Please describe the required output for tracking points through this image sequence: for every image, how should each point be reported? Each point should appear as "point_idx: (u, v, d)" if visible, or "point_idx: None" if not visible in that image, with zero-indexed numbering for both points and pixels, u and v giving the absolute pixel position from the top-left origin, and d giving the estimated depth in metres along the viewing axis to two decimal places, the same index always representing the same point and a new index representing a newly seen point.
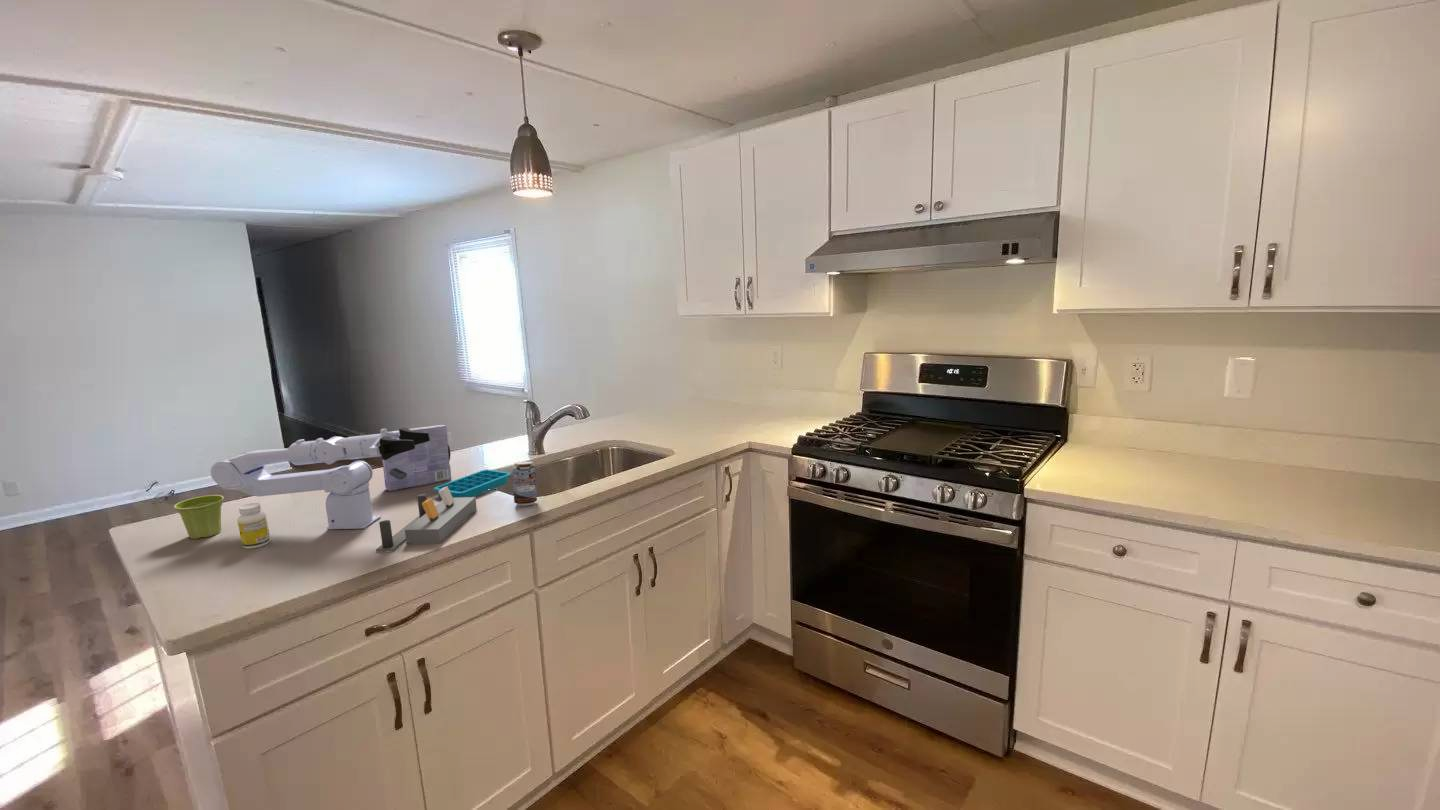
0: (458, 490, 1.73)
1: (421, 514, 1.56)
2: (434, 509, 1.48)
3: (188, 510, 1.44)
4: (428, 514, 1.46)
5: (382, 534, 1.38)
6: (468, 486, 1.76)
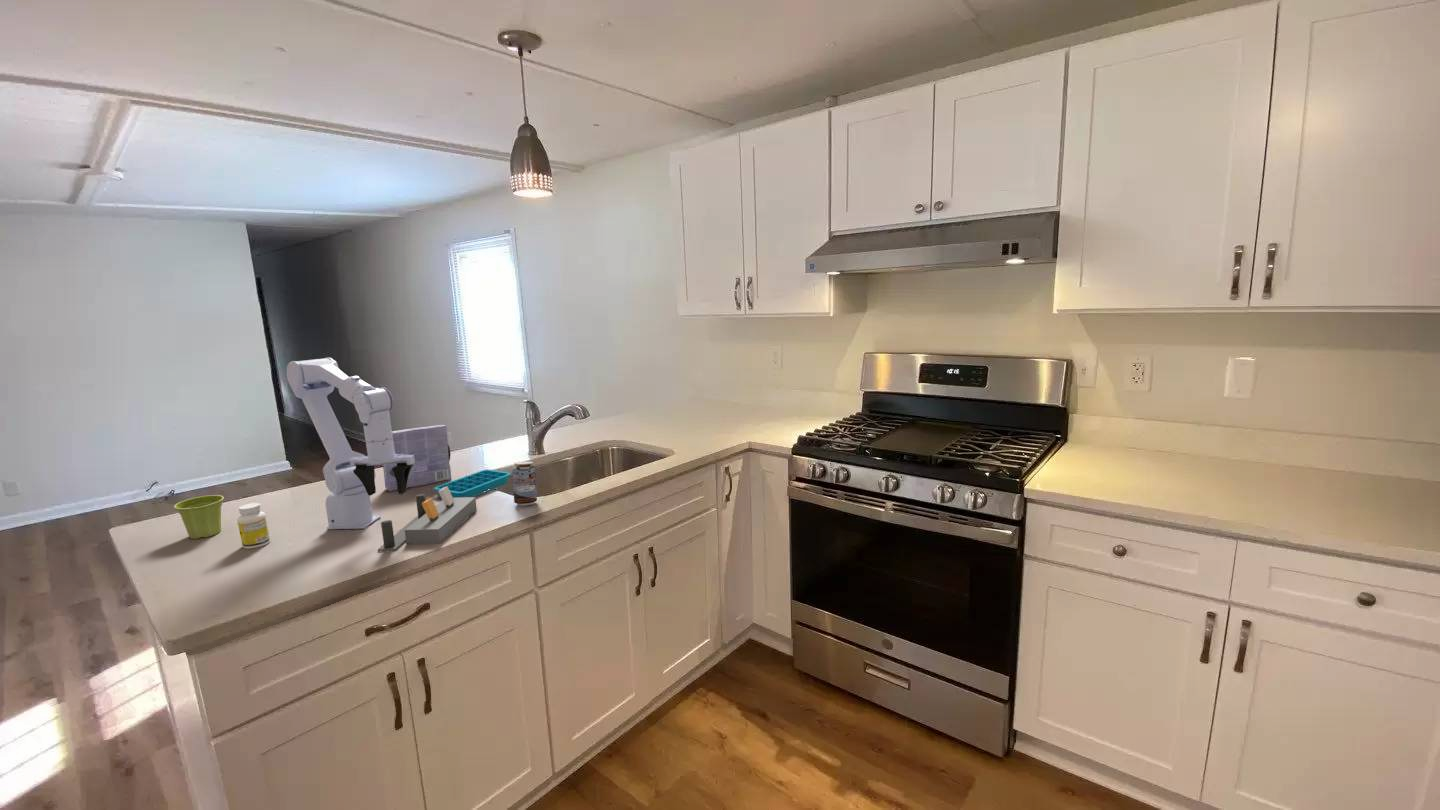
0: (458, 490, 1.73)
1: (420, 514, 1.56)
2: (434, 509, 1.48)
3: (188, 510, 1.44)
4: (428, 514, 1.46)
5: (384, 534, 1.38)
6: (468, 486, 1.76)
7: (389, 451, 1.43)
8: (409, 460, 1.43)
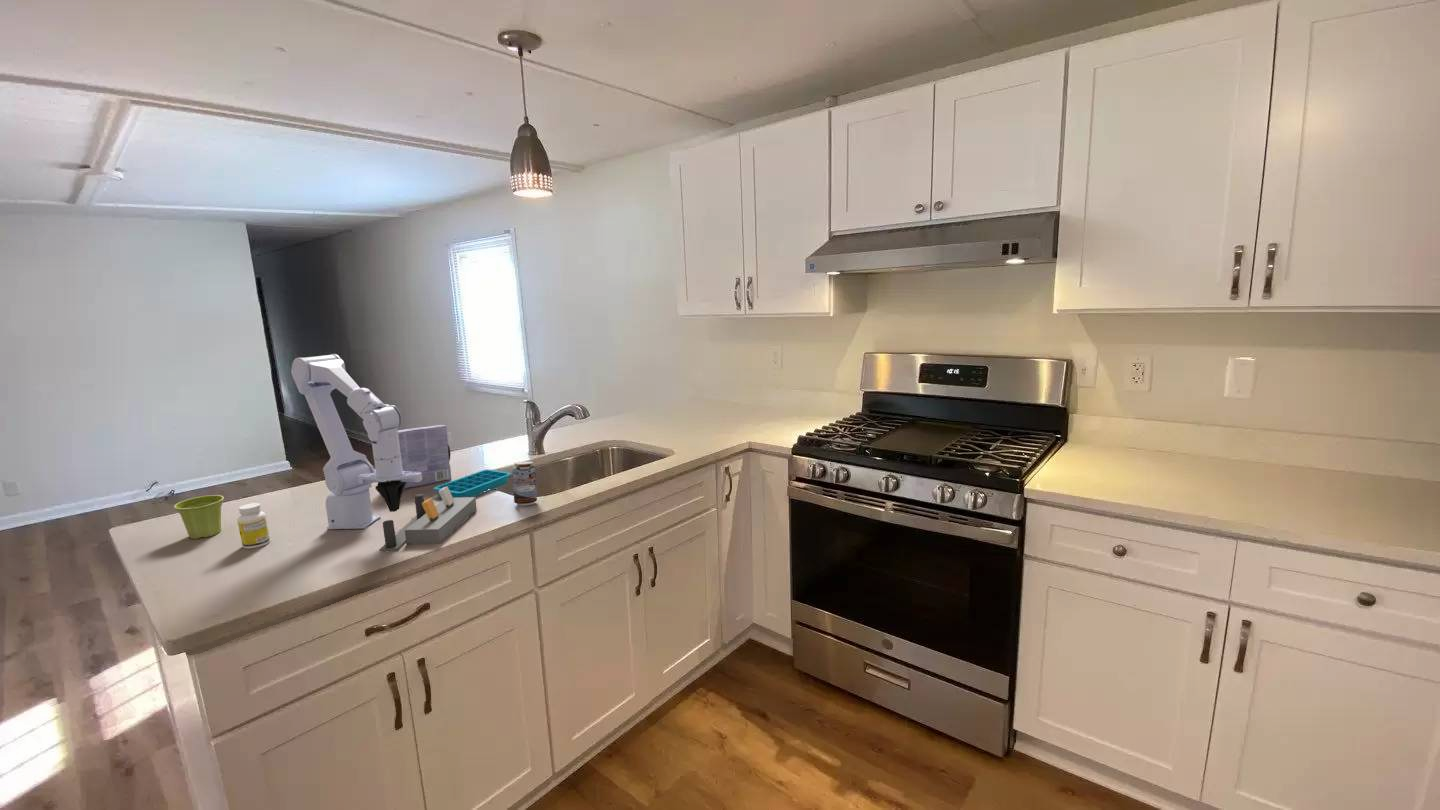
0: (458, 490, 1.73)
1: (418, 514, 1.56)
2: (434, 509, 1.48)
3: (188, 510, 1.44)
4: (428, 514, 1.46)
5: (386, 534, 1.38)
6: (468, 486, 1.76)
7: (396, 469, 1.44)
8: (417, 478, 1.44)
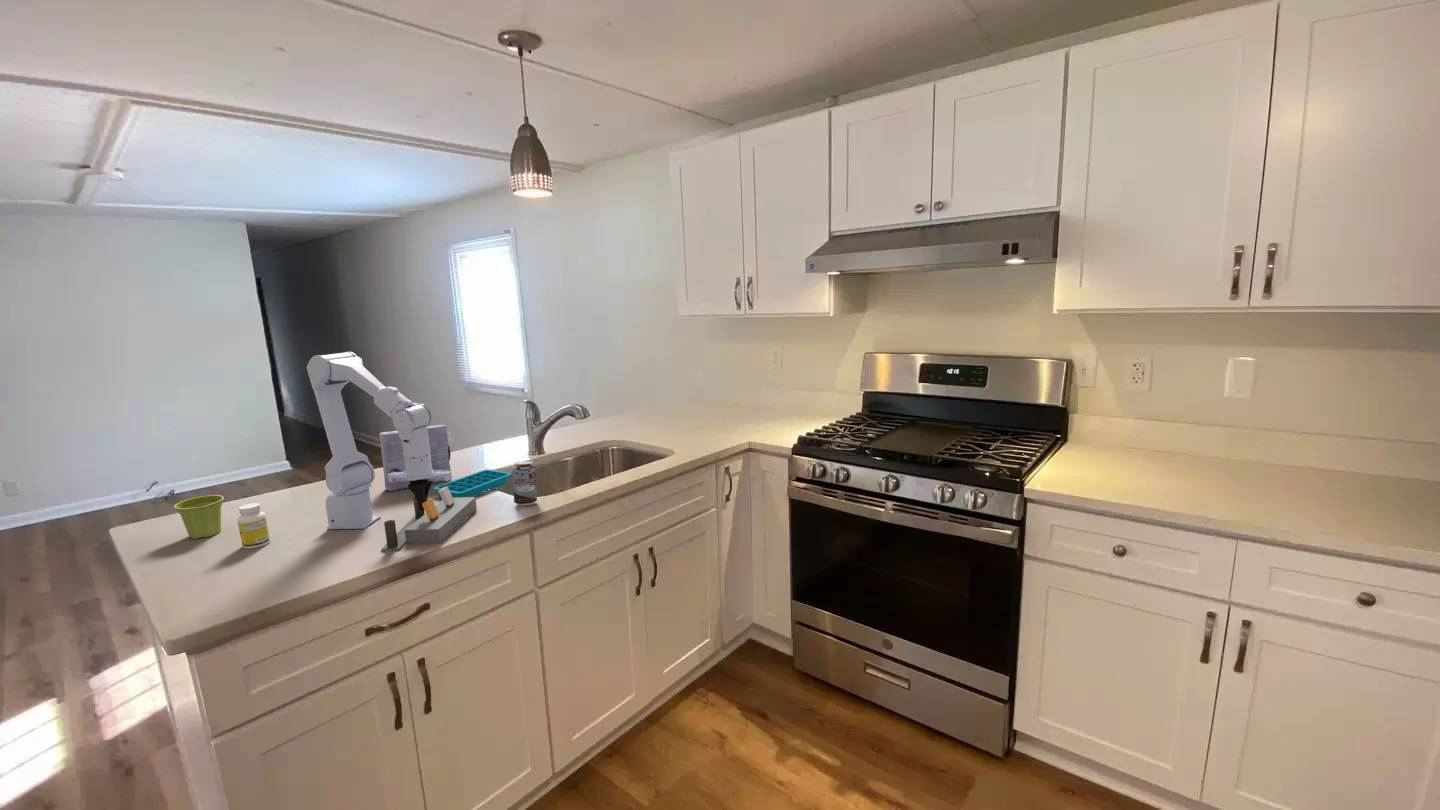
0: (457, 490, 1.73)
1: (417, 514, 1.55)
2: (434, 509, 1.48)
3: (188, 510, 1.44)
4: (428, 514, 1.46)
5: (387, 534, 1.38)
6: (468, 486, 1.76)
7: (426, 468, 1.44)
8: (447, 476, 1.44)
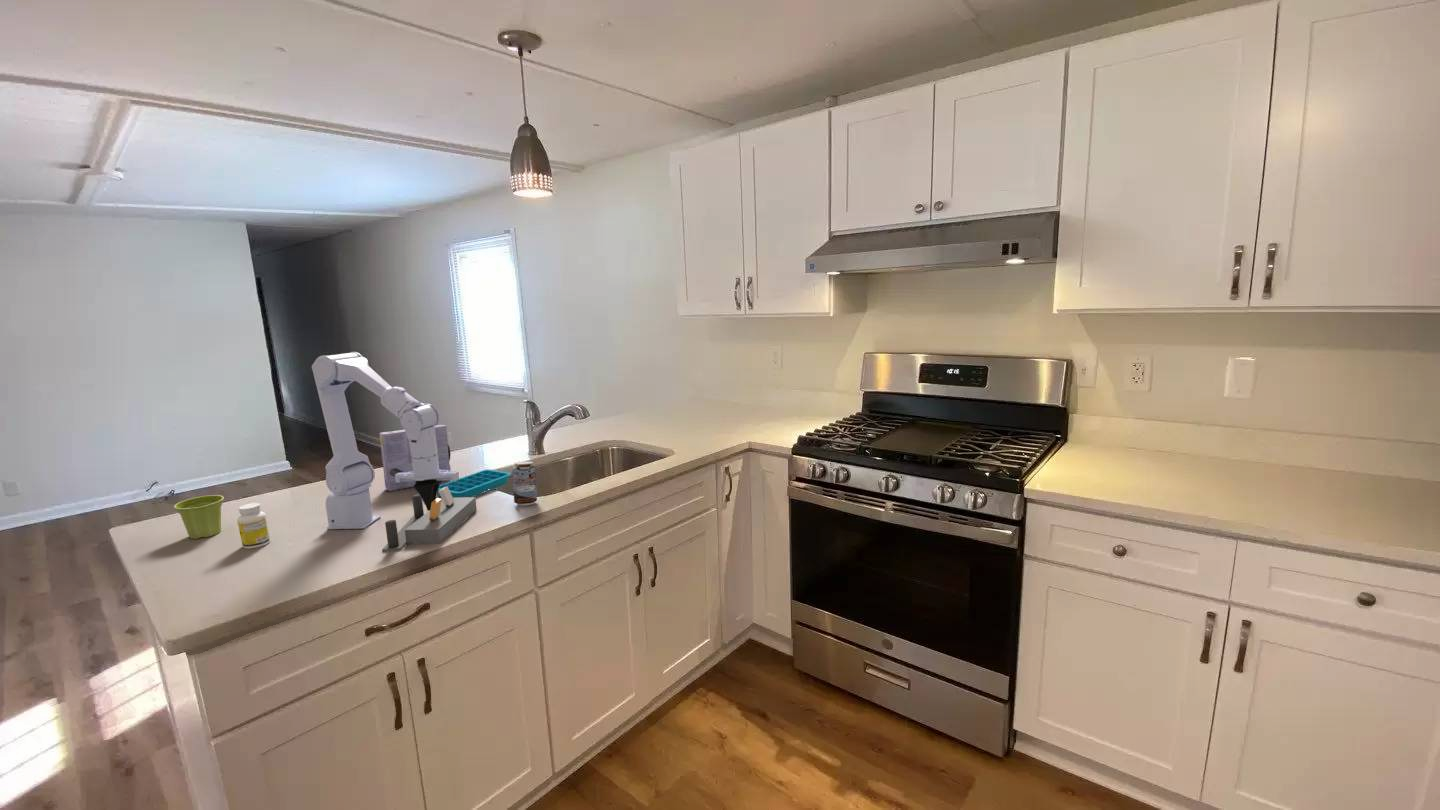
0: (457, 490, 1.73)
1: (417, 514, 1.55)
2: (438, 510, 1.48)
3: (188, 510, 1.44)
4: (432, 513, 1.46)
5: (388, 534, 1.38)
6: (468, 486, 1.76)
7: (434, 468, 1.44)
8: (454, 476, 1.44)
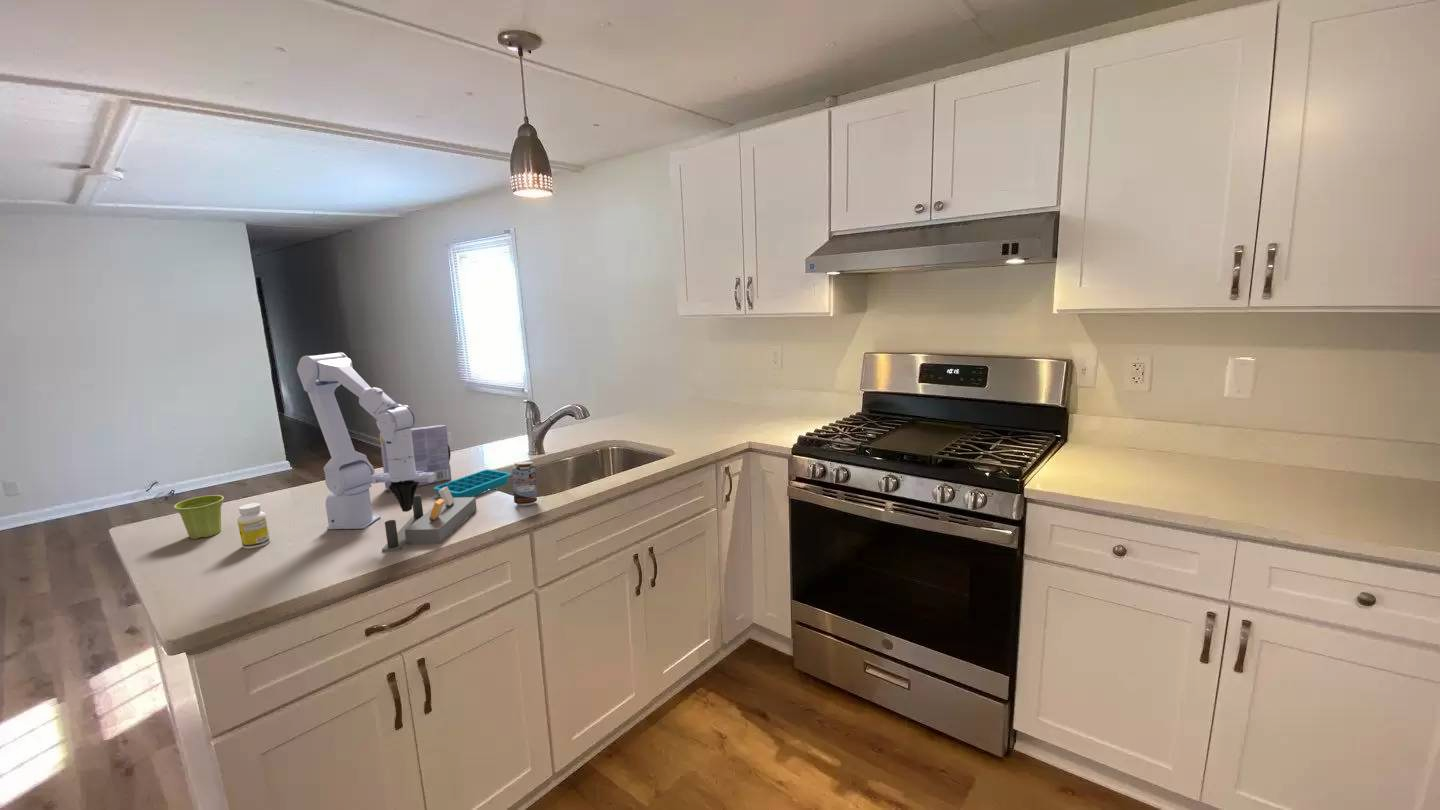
0: (457, 490, 1.73)
1: (416, 514, 1.55)
2: (439, 511, 1.48)
3: (188, 510, 1.44)
4: (433, 514, 1.46)
5: (388, 534, 1.38)
6: (467, 486, 1.76)
7: (410, 469, 1.44)
8: (430, 478, 1.44)
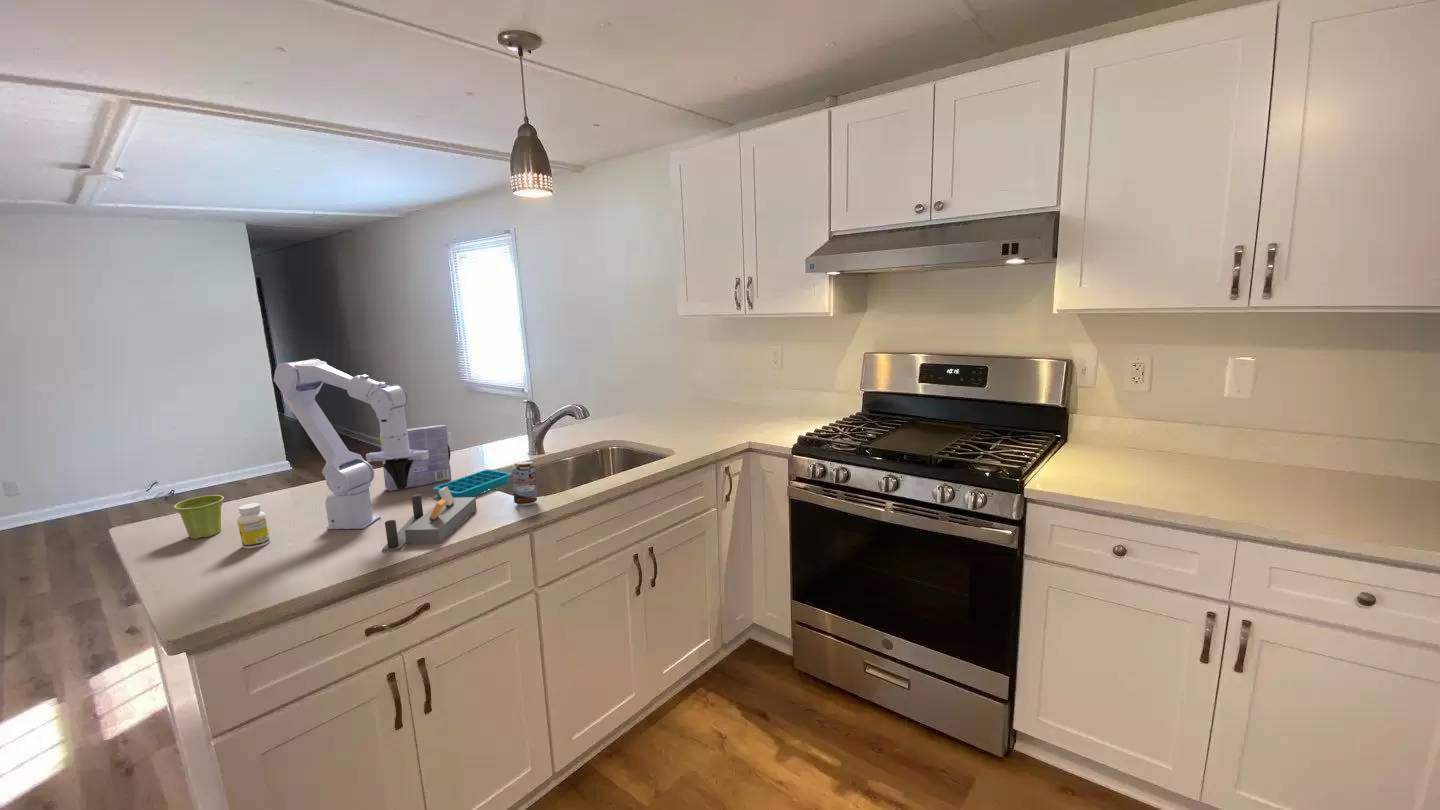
0: (457, 490, 1.73)
1: (416, 514, 1.55)
2: (440, 511, 1.48)
3: (188, 510, 1.44)
4: (433, 514, 1.46)
5: (388, 534, 1.38)
6: (467, 486, 1.76)
7: (404, 447, 1.47)
8: (424, 455, 1.47)
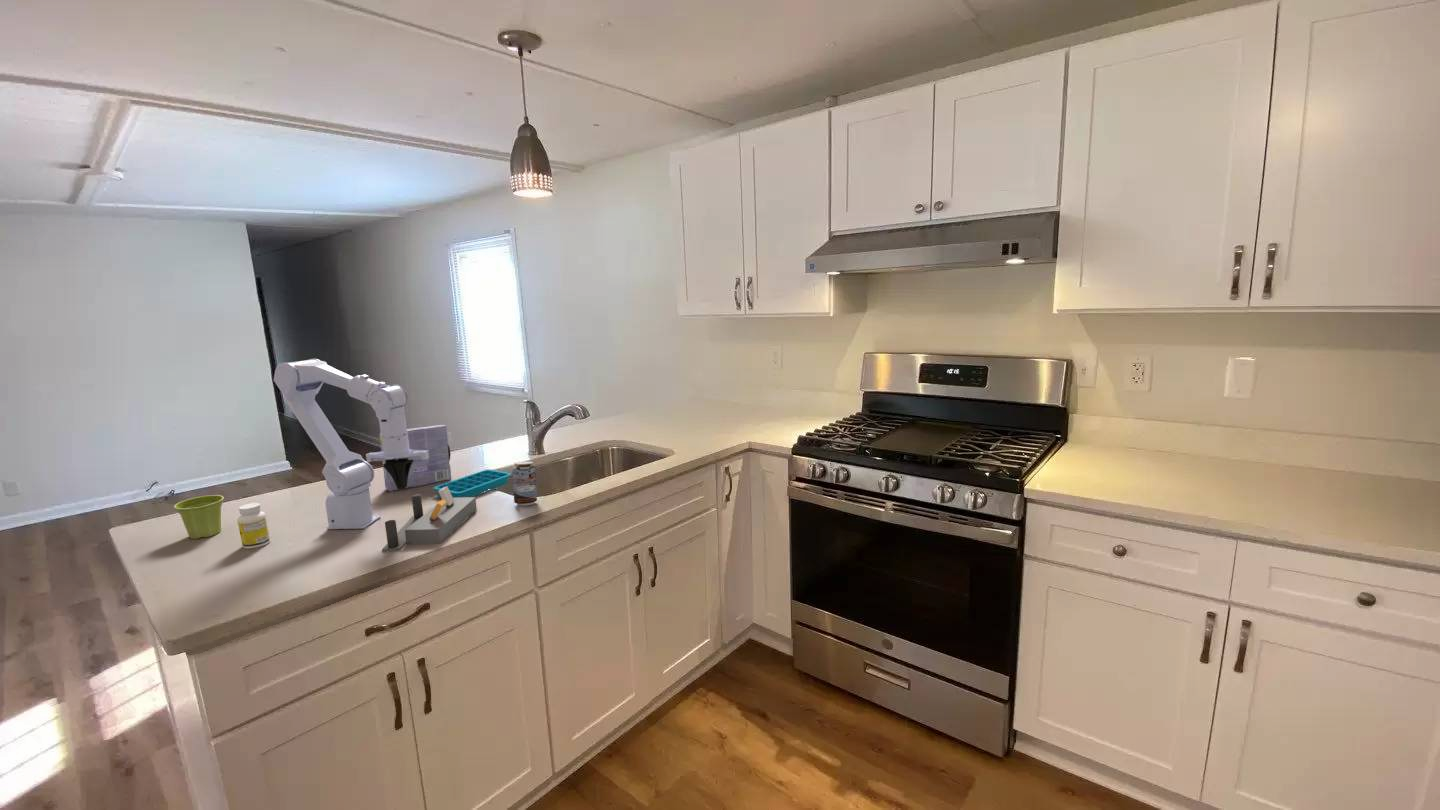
0: (457, 490, 1.73)
1: (416, 514, 1.55)
2: (440, 512, 1.48)
3: (188, 510, 1.44)
4: (433, 514, 1.46)
5: (388, 534, 1.38)
6: (467, 486, 1.76)
7: (404, 447, 1.47)
8: (424, 455, 1.47)
